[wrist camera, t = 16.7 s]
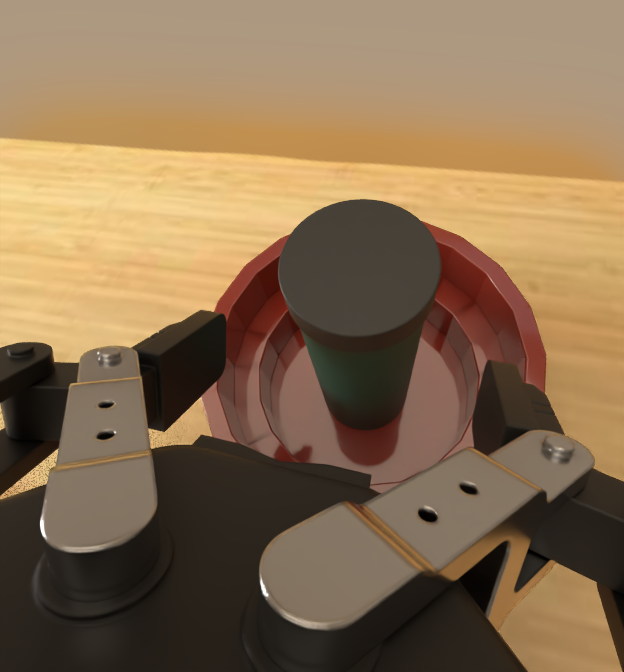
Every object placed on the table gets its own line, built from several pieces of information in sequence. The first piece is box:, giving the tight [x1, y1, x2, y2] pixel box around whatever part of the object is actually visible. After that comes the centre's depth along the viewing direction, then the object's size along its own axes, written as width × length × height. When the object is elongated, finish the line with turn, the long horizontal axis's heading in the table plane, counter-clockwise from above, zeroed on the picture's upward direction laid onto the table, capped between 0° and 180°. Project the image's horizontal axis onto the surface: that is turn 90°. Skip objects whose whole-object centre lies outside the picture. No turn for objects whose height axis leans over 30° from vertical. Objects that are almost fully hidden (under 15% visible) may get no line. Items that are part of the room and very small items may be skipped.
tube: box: [278, 199, 441, 430], centre depth 18 cm, size 5×5×12 cm
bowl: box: [201, 221, 546, 494], centre depth 22 cm, size 15×15×6 cm
